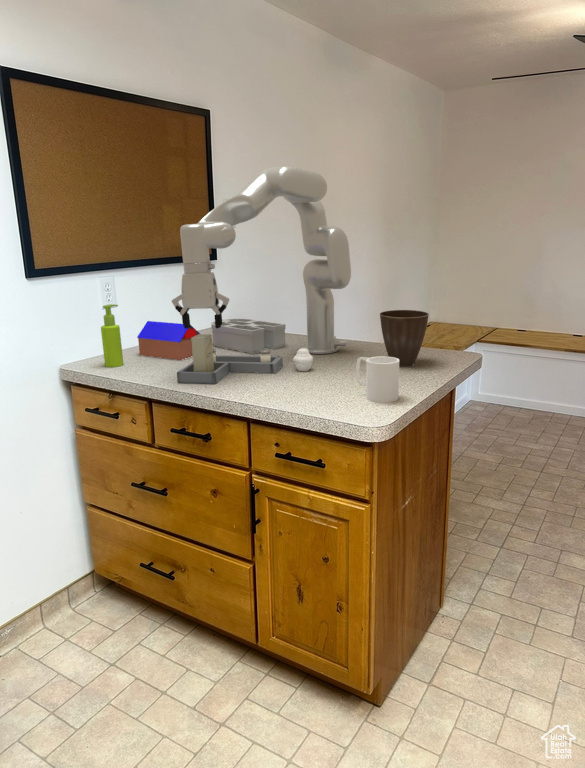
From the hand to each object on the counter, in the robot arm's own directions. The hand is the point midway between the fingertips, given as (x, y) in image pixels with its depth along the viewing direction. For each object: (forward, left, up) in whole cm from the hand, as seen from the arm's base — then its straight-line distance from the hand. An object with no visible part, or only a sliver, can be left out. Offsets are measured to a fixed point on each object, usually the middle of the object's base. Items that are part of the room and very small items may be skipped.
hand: (202, 327), depth 173 cm
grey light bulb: (+2, -11, -15) cm, 19 cm away
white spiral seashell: (-28, -11, -15) cm, 34 cm away
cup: (-52, +15, -15) cm, 56 cm away
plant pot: (-58, -22, -15) cm, 64 cm away
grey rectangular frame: (-7, -11, -15) cm, 20 cm away
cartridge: (-16, -11, -15) cm, 25 cm away
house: (+24, -29, -16) cm, 41 cm away
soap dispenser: (+36, -12, -15) cm, 41 cm away
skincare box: (0, +1, -15) cm, 15 cm away
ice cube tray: (+1, -46, -16) cm, 48 cm away
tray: (0, +1, -15) cm, 15 cm away
